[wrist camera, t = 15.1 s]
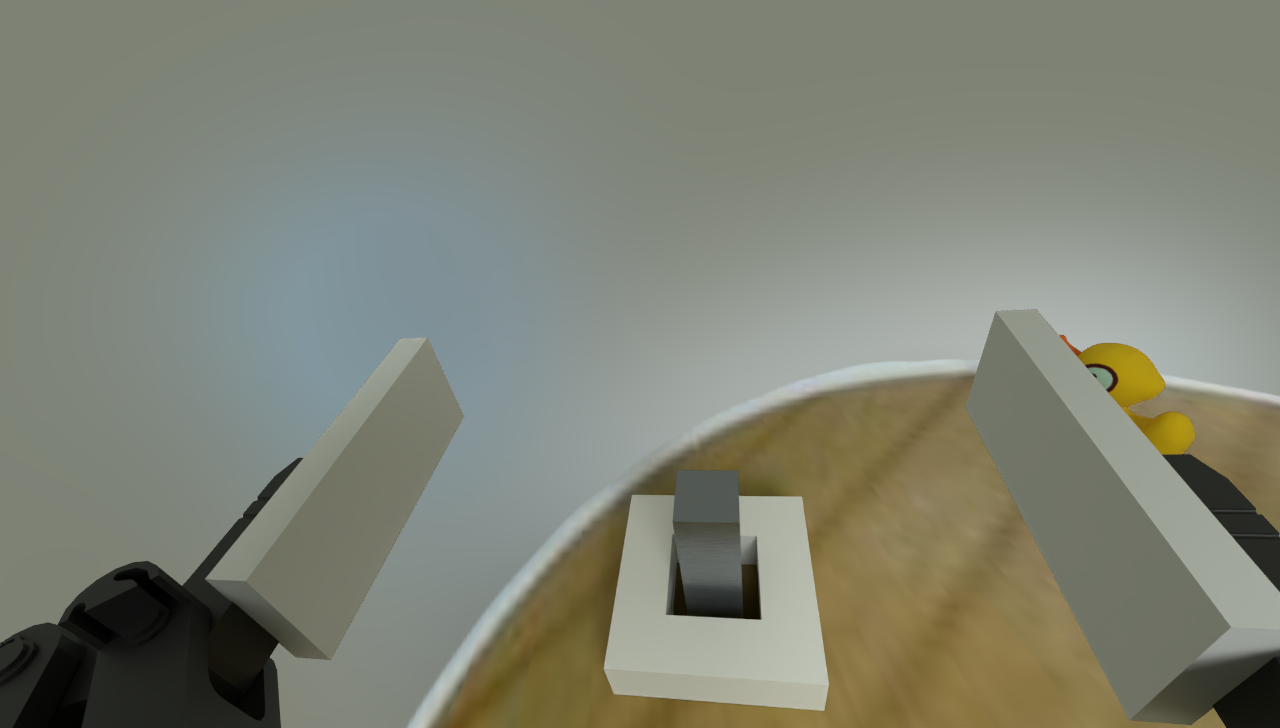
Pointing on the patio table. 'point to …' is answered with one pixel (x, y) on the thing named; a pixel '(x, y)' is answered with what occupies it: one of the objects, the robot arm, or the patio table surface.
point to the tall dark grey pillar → (709, 542)
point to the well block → (719, 647)
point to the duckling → (1137, 392)
